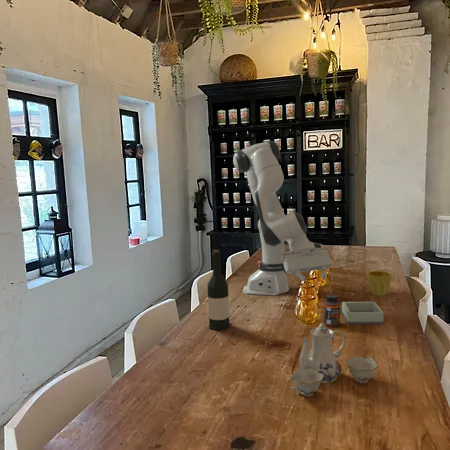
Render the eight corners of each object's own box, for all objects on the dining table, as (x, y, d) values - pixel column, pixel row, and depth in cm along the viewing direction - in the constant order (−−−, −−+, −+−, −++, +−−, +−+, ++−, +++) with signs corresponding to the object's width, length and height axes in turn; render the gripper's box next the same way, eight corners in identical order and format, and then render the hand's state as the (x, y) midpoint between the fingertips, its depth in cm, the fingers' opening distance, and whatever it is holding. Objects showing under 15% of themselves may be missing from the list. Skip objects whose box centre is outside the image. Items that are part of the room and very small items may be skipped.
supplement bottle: (331, 328, 158) (331, 299, 157) (320, 323, 164) (320, 295, 162) (343, 325, 161) (343, 296, 160) (332, 320, 166) (332, 292, 165)
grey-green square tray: (348, 324, 162) (348, 312, 161) (342, 312, 175) (342, 302, 174) (383, 324, 161) (383, 312, 160) (374, 312, 173) (374, 301, 173)
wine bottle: (233, 323, 167) (230, 248, 163) (226, 331, 160) (222, 253, 155) (213, 321, 170) (209, 248, 166) (205, 329, 162) (201, 252, 158)
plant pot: (366, 296, 194) (367, 275, 193) (367, 290, 204) (367, 270, 202) (391, 298, 191) (391, 276, 189) (390, 291, 200) (391, 271, 199)
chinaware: (302, 413, 108) (305, 354, 105) (269, 378, 123) (271, 326, 119) (386, 386, 120) (391, 332, 116) (346, 357, 134) (350, 308, 131)
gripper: (281, 249, 173) (293, 278, 165) (325, 244, 179) (339, 271, 171) (277, 257, 178) (288, 286, 170) (320, 252, 184) (333, 279, 176)
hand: (314, 278), depth 171 cm, fingers open, 8 cm apart
